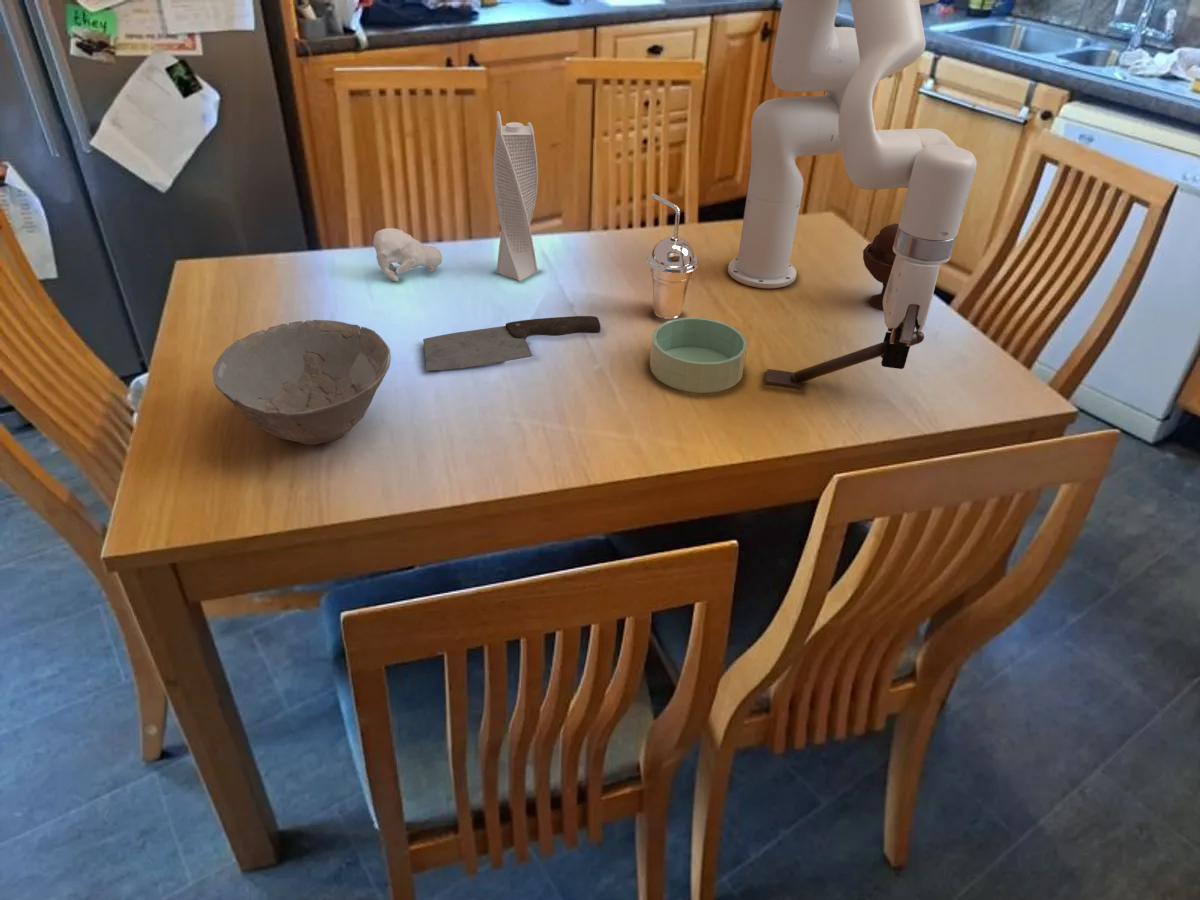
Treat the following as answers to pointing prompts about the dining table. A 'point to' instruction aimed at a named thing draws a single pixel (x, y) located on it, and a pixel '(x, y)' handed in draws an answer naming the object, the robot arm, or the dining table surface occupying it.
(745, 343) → the bowl
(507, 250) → the skyscraper
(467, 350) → the cleaver
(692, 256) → the cup with straw
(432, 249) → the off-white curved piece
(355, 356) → the ceramic bowl
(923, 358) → the dining table surface
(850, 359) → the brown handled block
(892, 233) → the ice cream bowl
